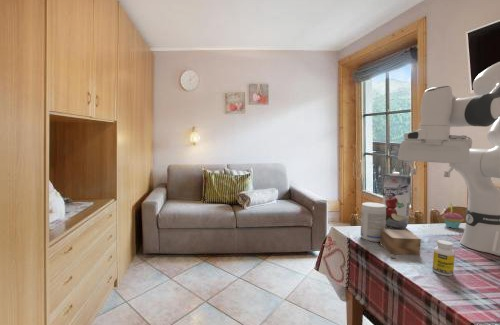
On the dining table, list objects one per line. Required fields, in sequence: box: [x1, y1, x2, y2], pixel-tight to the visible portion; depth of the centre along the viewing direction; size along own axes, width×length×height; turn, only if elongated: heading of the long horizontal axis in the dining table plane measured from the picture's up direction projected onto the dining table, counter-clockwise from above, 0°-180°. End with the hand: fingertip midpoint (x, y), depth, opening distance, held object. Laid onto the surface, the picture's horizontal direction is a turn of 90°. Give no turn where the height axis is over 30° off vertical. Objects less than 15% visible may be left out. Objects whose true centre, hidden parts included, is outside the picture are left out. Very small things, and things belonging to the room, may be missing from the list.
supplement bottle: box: [432, 239, 456, 277], centre depth 86 cm, size 5×5×10 cm
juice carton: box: [382, 171, 412, 230], centre depth 131 cm, size 9×10×27 cm
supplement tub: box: [360, 201, 386, 243], centre depth 115 cm, size 10×10×15 cm
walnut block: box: [380, 228, 422, 256], centre depth 105 cm, size 10×10×6 cm
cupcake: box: [442, 203, 465, 229], centre depth 133 cm, size 9×8×12 cm
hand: (429, 175), depth 93 cm, fingers open, 8 cm apart
